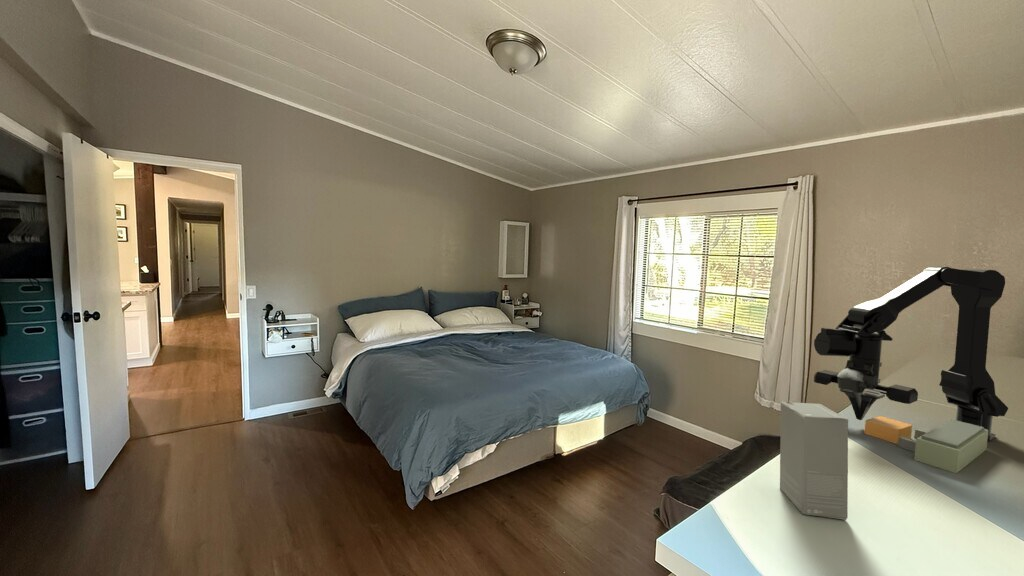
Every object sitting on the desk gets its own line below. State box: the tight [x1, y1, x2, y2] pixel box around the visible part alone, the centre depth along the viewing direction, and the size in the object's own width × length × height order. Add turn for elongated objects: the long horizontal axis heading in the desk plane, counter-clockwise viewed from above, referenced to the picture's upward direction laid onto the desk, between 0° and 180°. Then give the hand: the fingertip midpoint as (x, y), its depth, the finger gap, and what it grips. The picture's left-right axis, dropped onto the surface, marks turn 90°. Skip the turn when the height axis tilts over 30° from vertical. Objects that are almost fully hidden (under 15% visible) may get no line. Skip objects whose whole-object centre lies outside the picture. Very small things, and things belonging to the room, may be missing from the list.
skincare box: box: [779, 401, 849, 521], centre depth 66 cm, size 8×7×16 cm
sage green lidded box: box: [897, 419, 988, 474], centre depth 88 cm, size 22×10×5 cm, turn 121°
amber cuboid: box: [864, 415, 913, 445], centre depth 95 cm, size 7×6×4 cm
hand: (859, 419), depth 100 cm, fingers closed
